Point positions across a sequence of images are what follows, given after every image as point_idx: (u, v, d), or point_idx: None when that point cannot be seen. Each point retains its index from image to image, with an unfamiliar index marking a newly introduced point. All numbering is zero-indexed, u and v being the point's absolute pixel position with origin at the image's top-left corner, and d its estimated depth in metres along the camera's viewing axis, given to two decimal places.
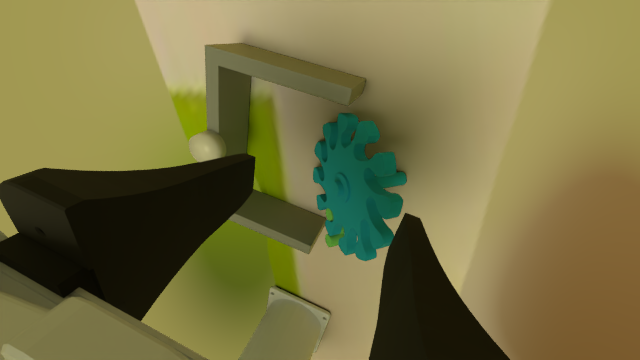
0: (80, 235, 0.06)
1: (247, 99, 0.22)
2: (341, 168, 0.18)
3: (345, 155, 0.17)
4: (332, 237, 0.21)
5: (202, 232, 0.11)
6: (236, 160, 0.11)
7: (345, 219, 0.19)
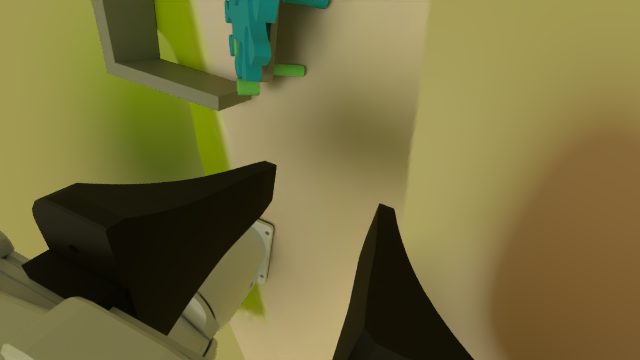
0: (118, 254, 0.06)
1: None
2: None
3: None
4: (242, 79, 0.17)
5: (226, 243, 0.10)
6: (259, 169, 0.11)
7: (241, 26, 0.14)
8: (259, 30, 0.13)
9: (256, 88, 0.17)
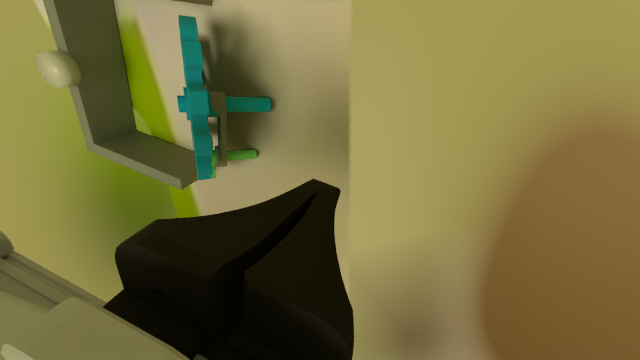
0: (213, 302, 0.05)
1: (113, 25, 0.21)
2: (186, 82, 0.17)
3: (184, 65, 0.16)
4: None
5: None
6: (313, 189, 0.10)
7: None
8: None
9: (212, 174, 0.21)
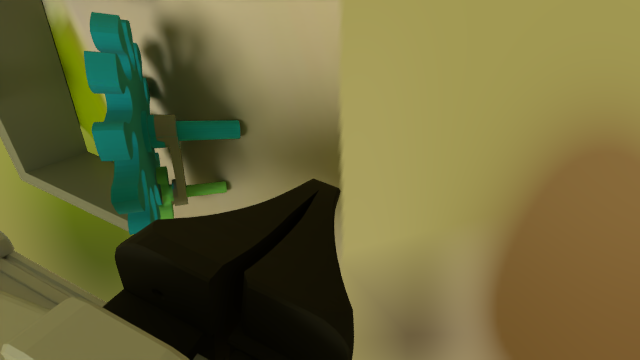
0: (212, 303, 0.05)
1: (42, 25, 0.16)
2: None
3: None
4: None
5: None
6: (313, 189, 0.10)
7: None
8: None
9: (168, 215, 0.16)
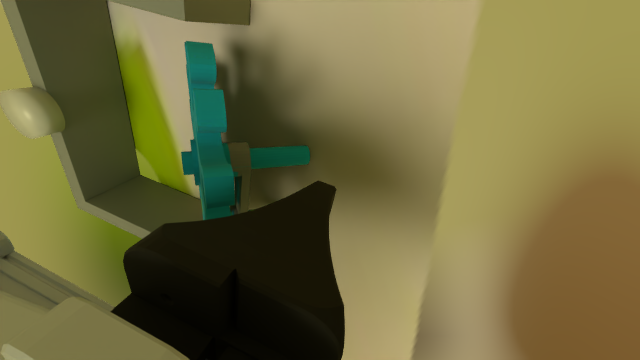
0: (222, 307, 0.05)
1: (109, 48, 0.16)
2: (194, 132, 0.12)
3: (192, 109, 0.11)
4: None
5: None
6: (318, 191, 0.10)
7: (203, 211, 0.12)
8: None
9: None
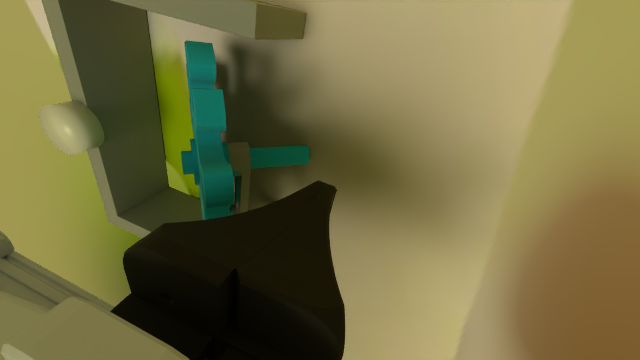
0: (222, 307, 0.05)
1: (147, 59, 0.15)
2: (194, 131, 0.12)
3: (192, 109, 0.11)
4: None
5: None
6: (318, 191, 0.10)
7: None
8: None
9: None
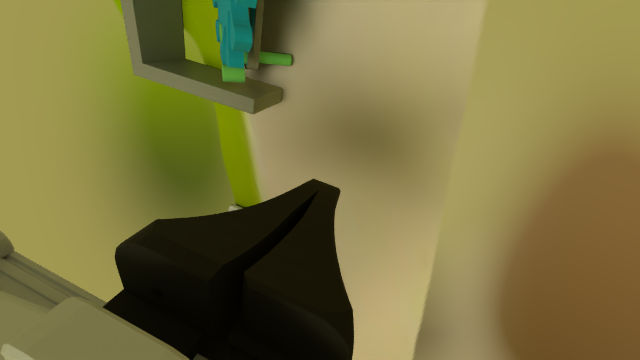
0: (212, 302, 0.05)
1: None
2: None
3: None
4: (227, 65, 0.17)
5: None
6: (313, 189, 0.10)
7: (225, 10, 0.14)
8: (241, 15, 0.13)
9: (241, 75, 0.17)
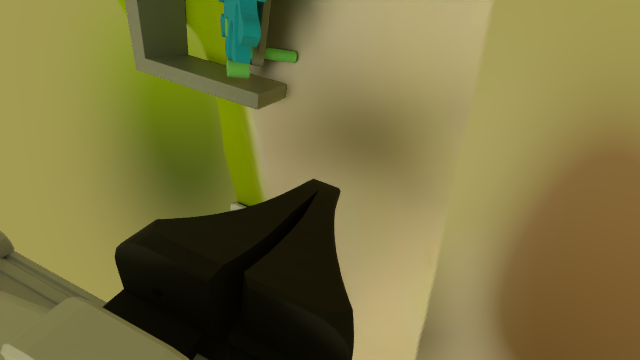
0: (212, 302, 0.05)
1: None
2: None
3: None
4: (232, 61, 0.17)
5: None
6: (313, 189, 0.10)
7: (232, 4, 0.14)
8: (250, 9, 0.13)
9: (246, 70, 0.17)
